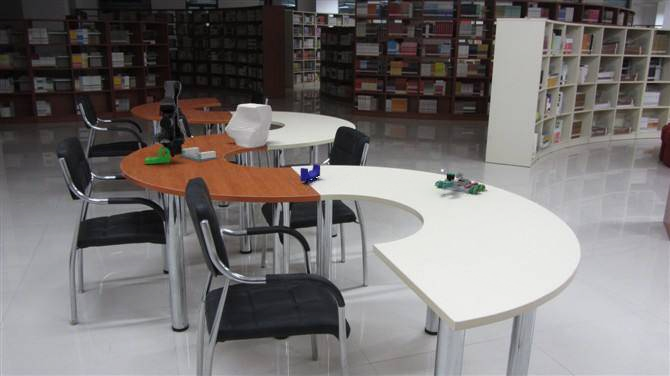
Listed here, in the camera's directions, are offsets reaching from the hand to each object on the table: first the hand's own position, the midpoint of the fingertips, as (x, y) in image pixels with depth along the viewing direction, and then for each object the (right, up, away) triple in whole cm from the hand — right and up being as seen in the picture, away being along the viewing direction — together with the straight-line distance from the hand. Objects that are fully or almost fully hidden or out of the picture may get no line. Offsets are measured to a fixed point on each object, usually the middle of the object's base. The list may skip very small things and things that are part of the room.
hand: (170, 156), depth 284 cm
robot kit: (+137, -19, -53) cm, 148 cm away
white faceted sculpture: (+35, +8, +49) cm, 61 cm away
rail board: (+12, 0, +11) cm, 16 cm away
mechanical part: (-6, -3, -1) cm, 7 cm away
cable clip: (+74, -12, -32) cm, 81 cm away
